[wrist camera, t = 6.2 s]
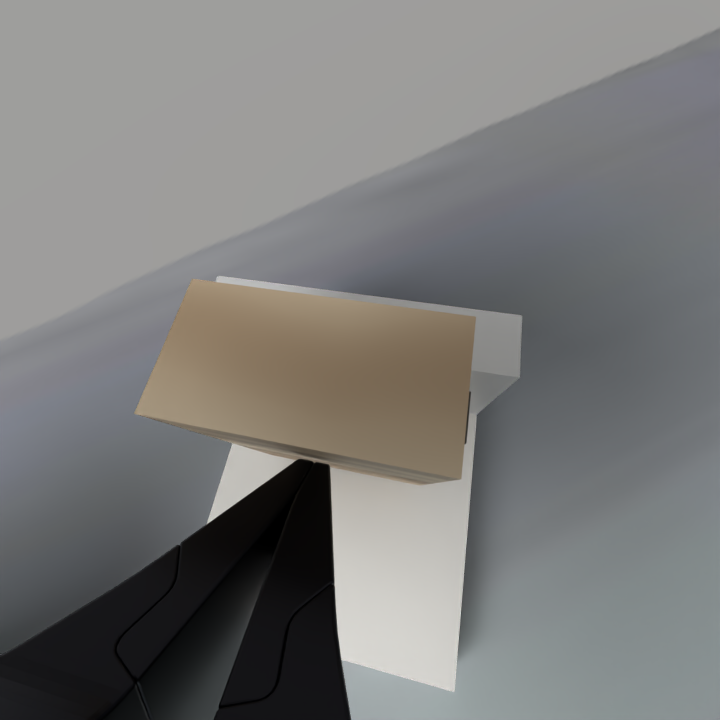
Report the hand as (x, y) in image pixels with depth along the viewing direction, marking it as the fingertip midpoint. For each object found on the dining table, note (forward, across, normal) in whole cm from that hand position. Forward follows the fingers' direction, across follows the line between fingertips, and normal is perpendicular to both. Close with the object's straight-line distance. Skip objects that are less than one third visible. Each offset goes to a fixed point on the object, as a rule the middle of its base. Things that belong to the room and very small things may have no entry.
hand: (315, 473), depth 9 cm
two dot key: (+5, 0, +2) cm, 5 cm away
